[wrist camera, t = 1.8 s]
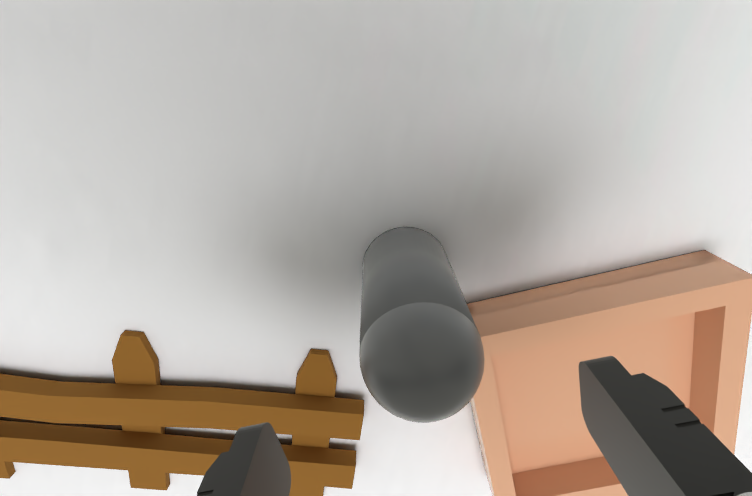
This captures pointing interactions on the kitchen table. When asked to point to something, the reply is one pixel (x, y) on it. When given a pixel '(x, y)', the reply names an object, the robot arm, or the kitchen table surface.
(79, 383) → the decorative fence
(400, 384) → the plug
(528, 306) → the dish
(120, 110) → the kitchen table surface
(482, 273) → the kitchen table surface
